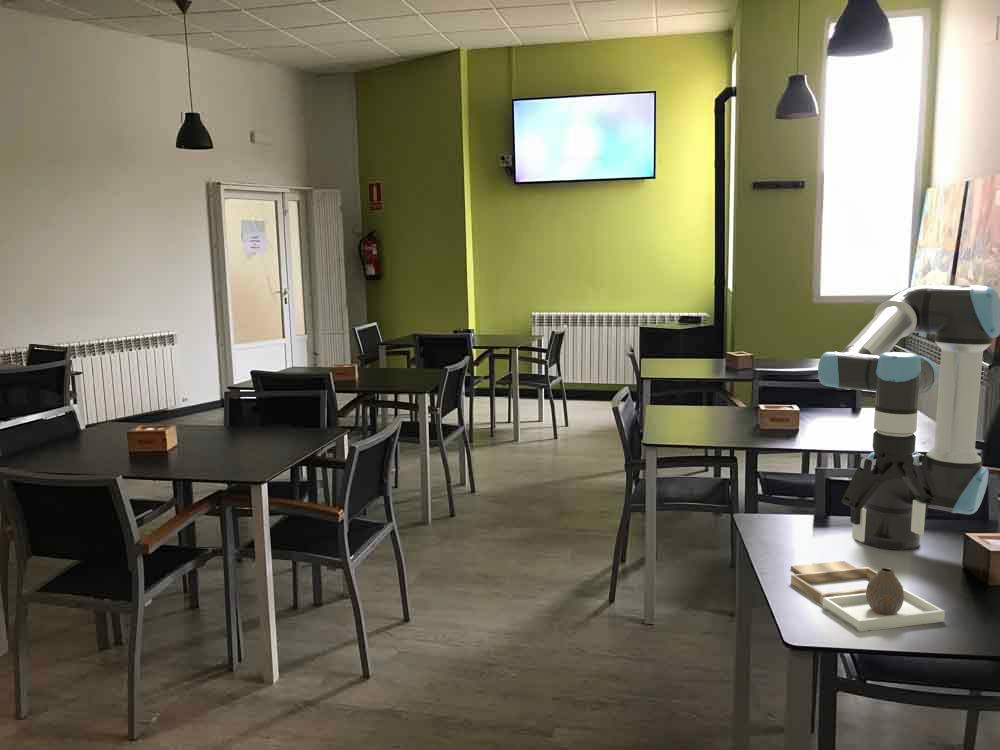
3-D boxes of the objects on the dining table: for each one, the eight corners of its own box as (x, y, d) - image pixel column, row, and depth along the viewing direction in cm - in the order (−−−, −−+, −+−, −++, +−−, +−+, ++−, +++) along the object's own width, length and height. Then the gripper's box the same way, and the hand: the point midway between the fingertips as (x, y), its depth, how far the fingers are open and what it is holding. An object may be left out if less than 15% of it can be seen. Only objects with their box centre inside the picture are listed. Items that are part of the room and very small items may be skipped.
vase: (881, 620, 164) (884, 578, 163) (857, 606, 170) (860, 565, 169) (910, 616, 166) (913, 574, 165) (885, 602, 172) (888, 562, 171)
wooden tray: (867, 575, 189) (867, 566, 188) (902, 595, 178) (902, 586, 177) (790, 583, 184) (791, 574, 184) (822, 604, 173) (822, 595, 173)
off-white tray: (903, 598, 176) (904, 588, 175) (944, 621, 165) (944, 611, 164) (822, 607, 171) (823, 597, 171) (858, 632, 160) (859, 621, 160)
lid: (843, 564, 195) (844, 560, 195) (860, 573, 190) (860, 570, 189) (790, 569, 192) (790, 566, 192) (806, 579, 186) (806, 575, 186)
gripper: (934, 424, 169) (927, 524, 172) (826, 432, 163) (821, 535, 167) (963, 432, 162) (955, 536, 165) (851, 440, 156) (845, 548, 159)
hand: (887, 536), depth 166 cm, fingers open, 13 cm apart
